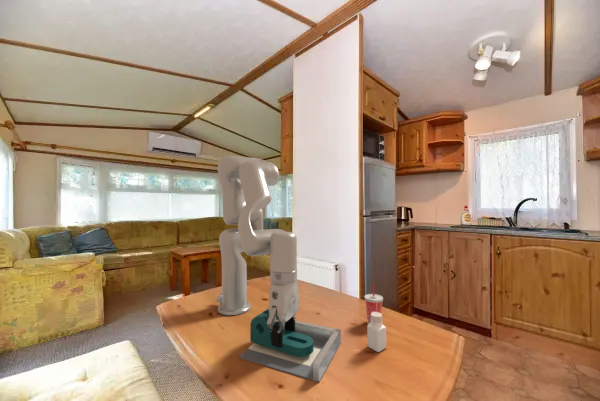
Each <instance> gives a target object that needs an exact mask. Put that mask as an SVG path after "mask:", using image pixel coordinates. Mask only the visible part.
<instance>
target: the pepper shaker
mask: <svg viewBox="0 0 600 401" xmlns="http://www.w3.org/2000/svg"><path fill="white" fill-rule="evenodd" d="M366 333H367V340H366V341H367V347H368V348H369V349H372V350H373V351H375V352H377V353H380V352H382V351H384V349H386V348H387V328H386V326H385V325H384V324H383V313H382V314H381V313H378V312H372V313H371V324H367V326H366Z"/></svg>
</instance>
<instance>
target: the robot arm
mask: <svg viewBox="0 0 600 401" xmlns="http://www.w3.org/2000/svg"><path fill="white" fill-rule="evenodd" d="M279 172H280V171H279V170H278V167H277V166H276V164H275V163H273V162H269V161H267V160H264V159H262V158H256V157H251V156H250V157H248V156H240V155H226V156H222V157H220V159H219V161H218V165H217V176H218V181H219V182H220V186H221V191H222V218H223V219H222V220H223V222H224V223H225V225H229V226H237V227H235V228H228V229H225V230H224V231H223V230H222V232H221V233H220V234H219V238H218V244H219V248H220V255H221V256H220V257H221V294H217V296H216V298H215V302H218V303H219V305H218V307H217V312H218V313H219V314H221V315H224V316H238V315H242V314H244V313H246V312H249V311H250V309H251V308H252V307H251V306H252V305H251V302H249V301H247V300H248V298H247V296H248V295H247V294H248V291H247V290H248V289H247V287H248V285H247V283H248V282H247V279H248V277H247V276H248V275H247V274H248V272H247V269H248V268H247V266H248V265H247V262H246V260H245V258H244V256H242V254H241V253H243V252H244V253H245V254H246V255H247V256H249V257H258V256H259V257H260V256H265V255H266V256H267V255H269V260H270V261H269V264H270V265H269V270H270V271H269V272H270V273H269V278H270V279H269V281H270V282H269V283H270V287H269V295H268V296H269V298H268V299H269V300H268V308H269V318H268V321H267V325H268V327H269V329H270V331H271V344H272V346H276V347H279V348H281V347H282V346H283V332H281V329H282V324H283V323H285V330H289V331H293V332H295V320H296V318H297V313H298V311H299V310H300V296H299V285H298V279H297V278H298V268H297V267H298V265H297V264H298V261H297V260H298V258H297V255H298V252H297V250H298V248H297V245H298V244H297V240H298V239H297V235H296V233H295V232H292V231H285V230H284V229H280V228H270V229H267V228H266V229H264V212H263V209H264V208H266V207H267V206H268V205H270V203H271V202H272V196H271V192H270V190H269V187H270V186H271V187H272V186H275V185H277V183H278V182H279V180H280V173H279ZM238 179H239V180H238ZM276 317H278V318H279V320H278V319H276ZM275 322H279V326H278V327H277V325H275Z"/></svg>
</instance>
